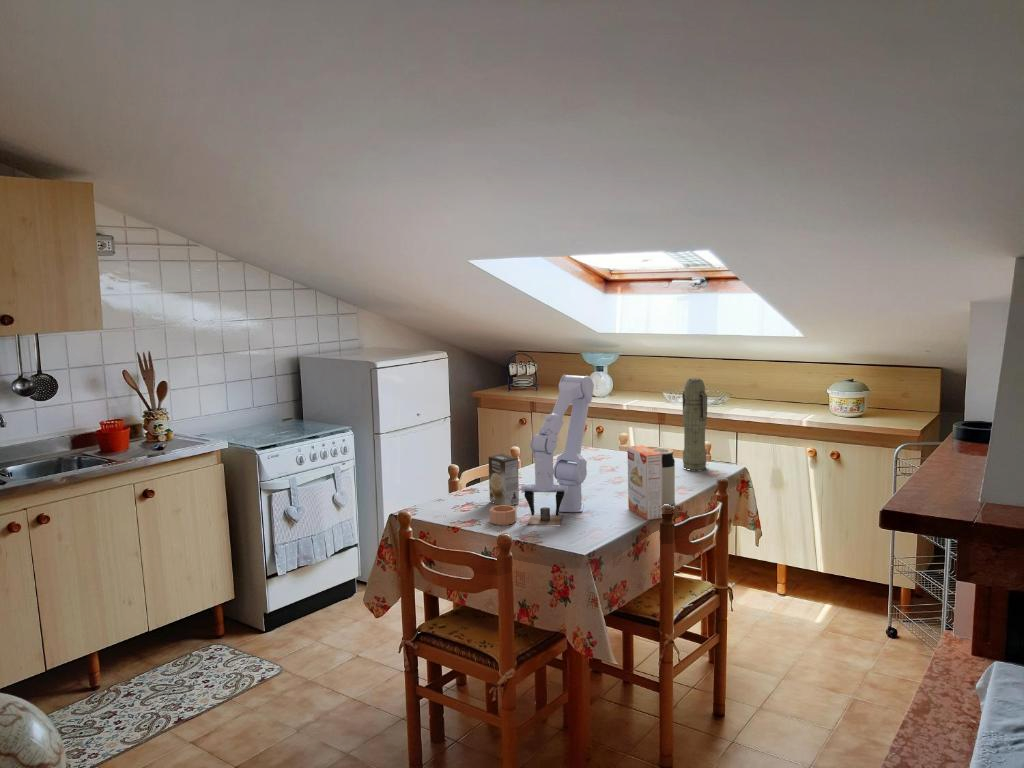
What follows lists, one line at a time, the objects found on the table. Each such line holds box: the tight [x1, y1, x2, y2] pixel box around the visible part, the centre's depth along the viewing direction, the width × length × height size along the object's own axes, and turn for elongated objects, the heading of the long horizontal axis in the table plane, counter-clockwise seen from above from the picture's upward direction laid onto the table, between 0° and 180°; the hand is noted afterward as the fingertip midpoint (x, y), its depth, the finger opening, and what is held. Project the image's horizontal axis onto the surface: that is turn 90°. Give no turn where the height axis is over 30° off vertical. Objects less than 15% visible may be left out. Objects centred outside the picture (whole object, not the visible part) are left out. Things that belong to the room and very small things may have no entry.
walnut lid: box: [527, 506, 564, 526], centre depth 255 cm, size 10×10×4 cm
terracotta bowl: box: [489, 505, 518, 526], centre depth 255 cm, size 8×8×4 cm
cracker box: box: [627, 445, 664, 521], centre depth 258 cm, size 14×6×21 cm, turn 16°
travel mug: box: [651, 447, 676, 506], centre depth 269 cm, size 8×8×18 cm
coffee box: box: [488, 453, 520, 506], centre depth 275 cm, size 9×6×16 cm
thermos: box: [682, 378, 708, 471], centre depth 314 cm, size 9×12×35 cm
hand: (545, 514), depth 255 cm, fingers open, 7 cm apart
